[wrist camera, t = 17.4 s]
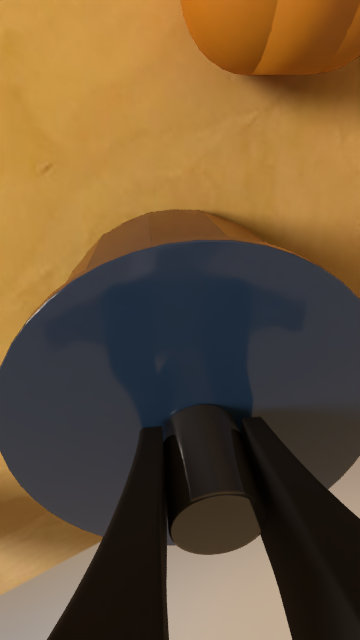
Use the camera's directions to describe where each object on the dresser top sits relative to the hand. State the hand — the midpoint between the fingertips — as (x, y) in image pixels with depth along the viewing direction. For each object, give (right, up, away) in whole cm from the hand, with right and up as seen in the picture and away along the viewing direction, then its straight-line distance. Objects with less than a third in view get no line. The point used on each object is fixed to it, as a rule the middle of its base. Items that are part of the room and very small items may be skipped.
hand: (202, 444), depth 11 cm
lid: (0, 0, +1) cm, 1 cm away
